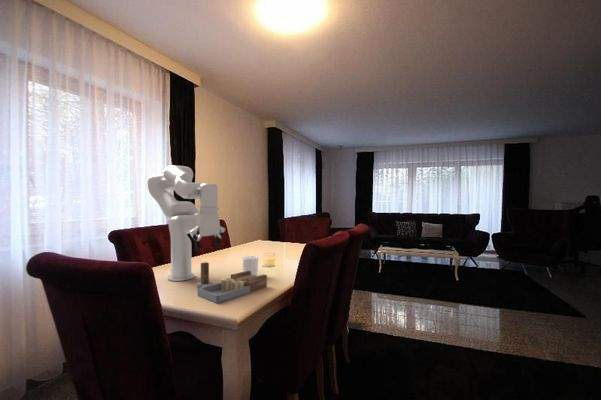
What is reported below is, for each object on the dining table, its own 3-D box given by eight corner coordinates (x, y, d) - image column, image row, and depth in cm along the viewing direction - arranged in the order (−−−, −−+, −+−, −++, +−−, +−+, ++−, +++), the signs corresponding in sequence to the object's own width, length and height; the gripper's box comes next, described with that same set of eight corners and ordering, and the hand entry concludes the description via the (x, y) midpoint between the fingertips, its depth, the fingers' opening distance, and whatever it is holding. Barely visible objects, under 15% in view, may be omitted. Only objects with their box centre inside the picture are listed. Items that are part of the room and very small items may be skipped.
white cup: (240, 276, 147) (240, 256, 147) (255, 274, 150) (255, 255, 150) (245, 280, 140) (244, 259, 140) (260, 278, 143) (260, 258, 143)
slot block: (230, 286, 129) (230, 274, 129) (248, 281, 137) (248, 270, 137) (249, 292, 121) (249, 279, 121) (266, 287, 129) (266, 275, 129)
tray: (197, 295, 117) (197, 288, 117) (230, 286, 130) (230, 280, 130) (217, 303, 108) (217, 296, 108) (250, 293, 121) (250, 286, 121)
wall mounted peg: (196, 288, 128) (196, 262, 128) (204, 286, 131) (204, 261, 131) (204, 291, 123) (204, 265, 123) (213, 289, 126) (212, 263, 126)
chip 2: (238, 289, 124) (230, 291, 121) (238, 280, 124) (230, 282, 121) (243, 291, 122) (236, 293, 119) (243, 281, 122) (236, 283, 119)
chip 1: (229, 287, 127) (221, 289, 124) (229, 278, 127) (221, 280, 124) (234, 288, 125) (227, 291, 122) (234, 279, 125) (227, 281, 122)
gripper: (220, 209, 139) (219, 244, 139) (186, 210, 126) (185, 249, 126) (229, 210, 134) (228, 246, 135) (195, 211, 121) (194, 252, 121)
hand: (207, 248), depth 130 cm, fingers open, 9 cm apart
